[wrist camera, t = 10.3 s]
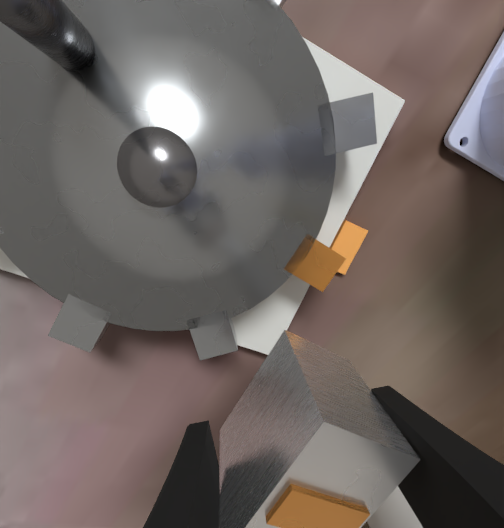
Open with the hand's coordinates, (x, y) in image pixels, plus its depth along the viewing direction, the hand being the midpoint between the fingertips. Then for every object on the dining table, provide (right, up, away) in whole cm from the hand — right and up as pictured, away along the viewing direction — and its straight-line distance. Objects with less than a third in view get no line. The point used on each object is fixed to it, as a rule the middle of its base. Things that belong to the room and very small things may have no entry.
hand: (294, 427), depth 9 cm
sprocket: (-5, +10, +4) cm, 12 cm away
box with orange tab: (0, 0, +2) cm, 2 cm away
